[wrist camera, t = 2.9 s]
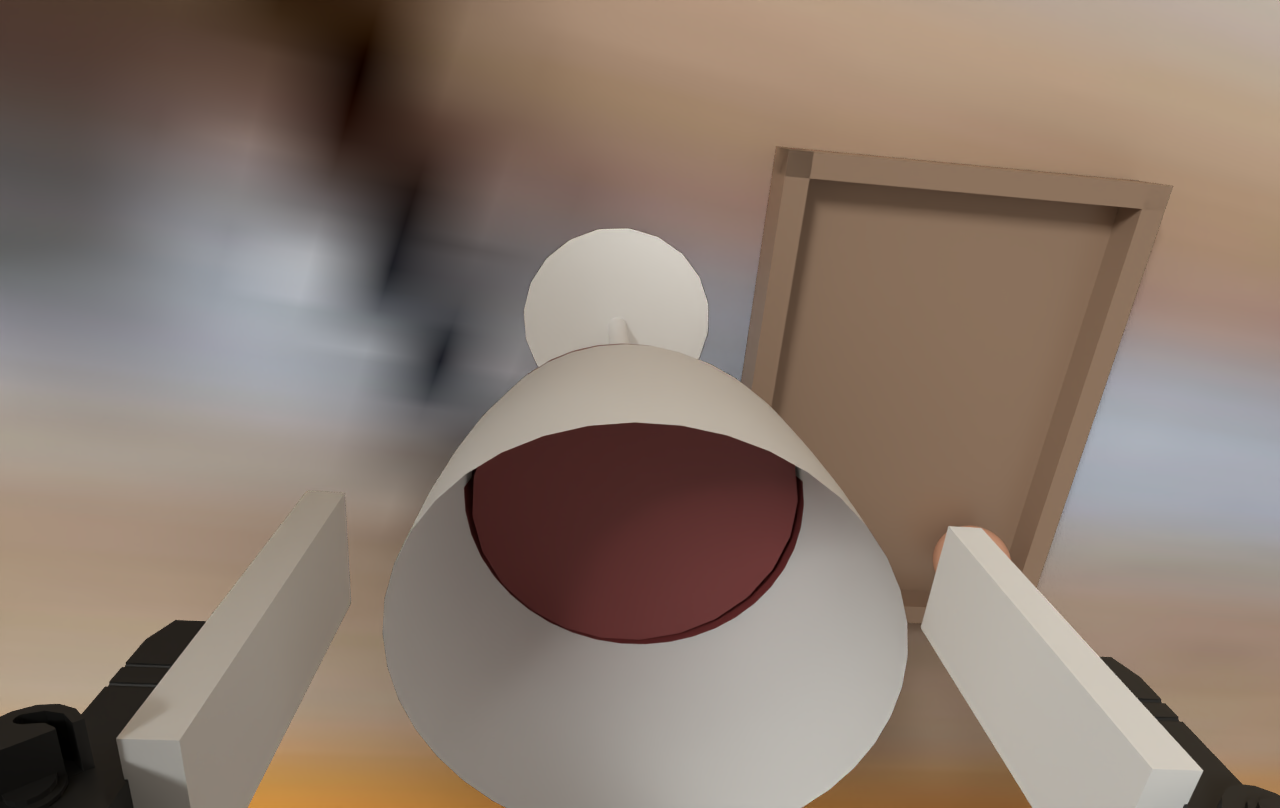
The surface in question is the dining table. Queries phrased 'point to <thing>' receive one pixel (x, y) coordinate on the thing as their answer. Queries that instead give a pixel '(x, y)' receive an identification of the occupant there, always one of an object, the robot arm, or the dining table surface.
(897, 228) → the tray
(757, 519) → the wineglass
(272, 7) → the dining table surface
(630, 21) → the dining table surface
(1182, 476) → the dining table surface
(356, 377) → the dining table surface
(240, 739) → the robot arm
